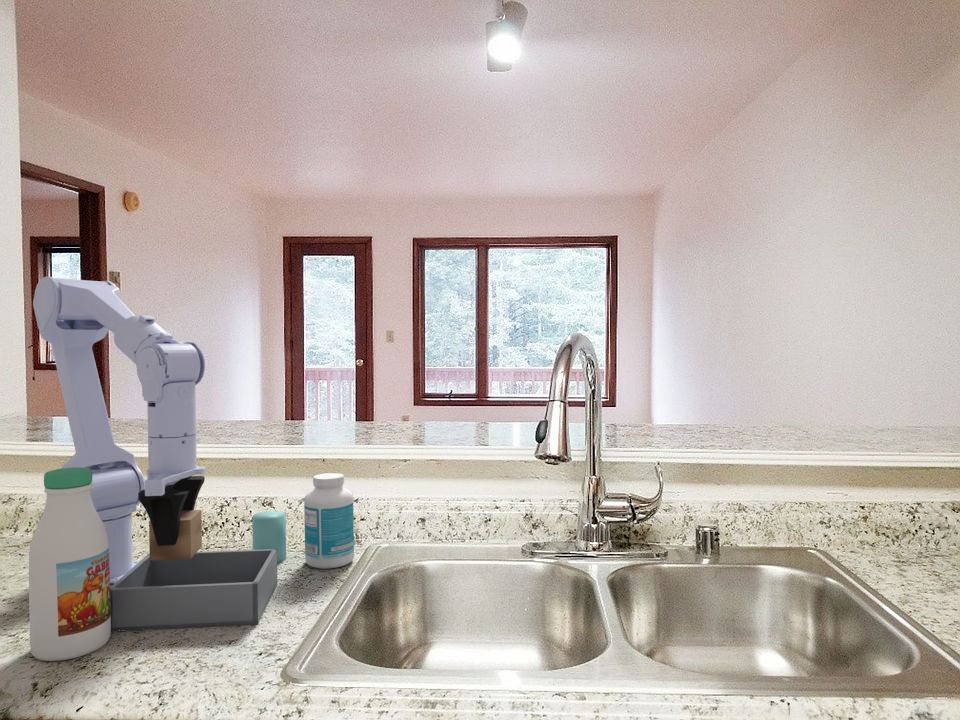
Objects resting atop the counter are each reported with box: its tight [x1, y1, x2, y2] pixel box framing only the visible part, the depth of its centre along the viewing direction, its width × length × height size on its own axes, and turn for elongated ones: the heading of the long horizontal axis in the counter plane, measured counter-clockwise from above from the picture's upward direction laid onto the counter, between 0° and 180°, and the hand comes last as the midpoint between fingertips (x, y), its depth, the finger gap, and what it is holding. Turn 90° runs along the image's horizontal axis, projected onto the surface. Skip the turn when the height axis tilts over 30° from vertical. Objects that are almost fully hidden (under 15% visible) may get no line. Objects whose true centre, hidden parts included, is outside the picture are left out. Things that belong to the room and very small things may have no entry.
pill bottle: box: [303, 472, 355, 570], centre depth 102 cm, size 8×7×14 cm
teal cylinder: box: [251, 510, 287, 564], centre depth 103 cm, size 5×5×7 cm
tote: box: [110, 549, 278, 632], centre depth 85 cm, size 17×13×5 cm
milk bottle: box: [28, 467, 112, 662], centre depth 74 cm, size 8×8×20 cm
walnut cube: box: [148, 509, 203, 560], centre depth 87 cm, size 5×5×5 cm
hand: (174, 538), depth 87 cm, fingers closed on walnut cube, 5 cm apart
